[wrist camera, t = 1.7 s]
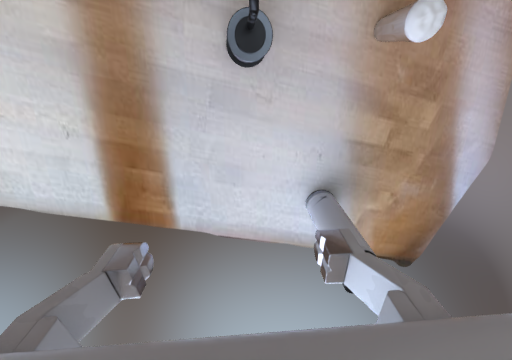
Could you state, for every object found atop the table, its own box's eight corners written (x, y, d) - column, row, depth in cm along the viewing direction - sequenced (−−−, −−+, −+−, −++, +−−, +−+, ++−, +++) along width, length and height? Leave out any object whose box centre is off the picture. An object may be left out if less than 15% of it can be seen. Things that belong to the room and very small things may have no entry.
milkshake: (401, -1, 31) (466, -27, 22) (398, 42, 33) (455, 34, 24) (369, 8, 31) (421, -14, 22) (369, 50, 33) (415, 45, 25)
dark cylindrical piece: (266, 67, 34) (291, 69, 17) (228, 67, 33) (217, 69, 17) (267, -1, 30) (301, -80, 13) (224, -2, 29) (205, -84, 13)
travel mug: (313, 185, 44) (362, 263, 27) (339, 195, 46) (400, 275, 29) (298, 207, 47) (334, 292, 29) (323, 216, 49) (370, 302, 31)
